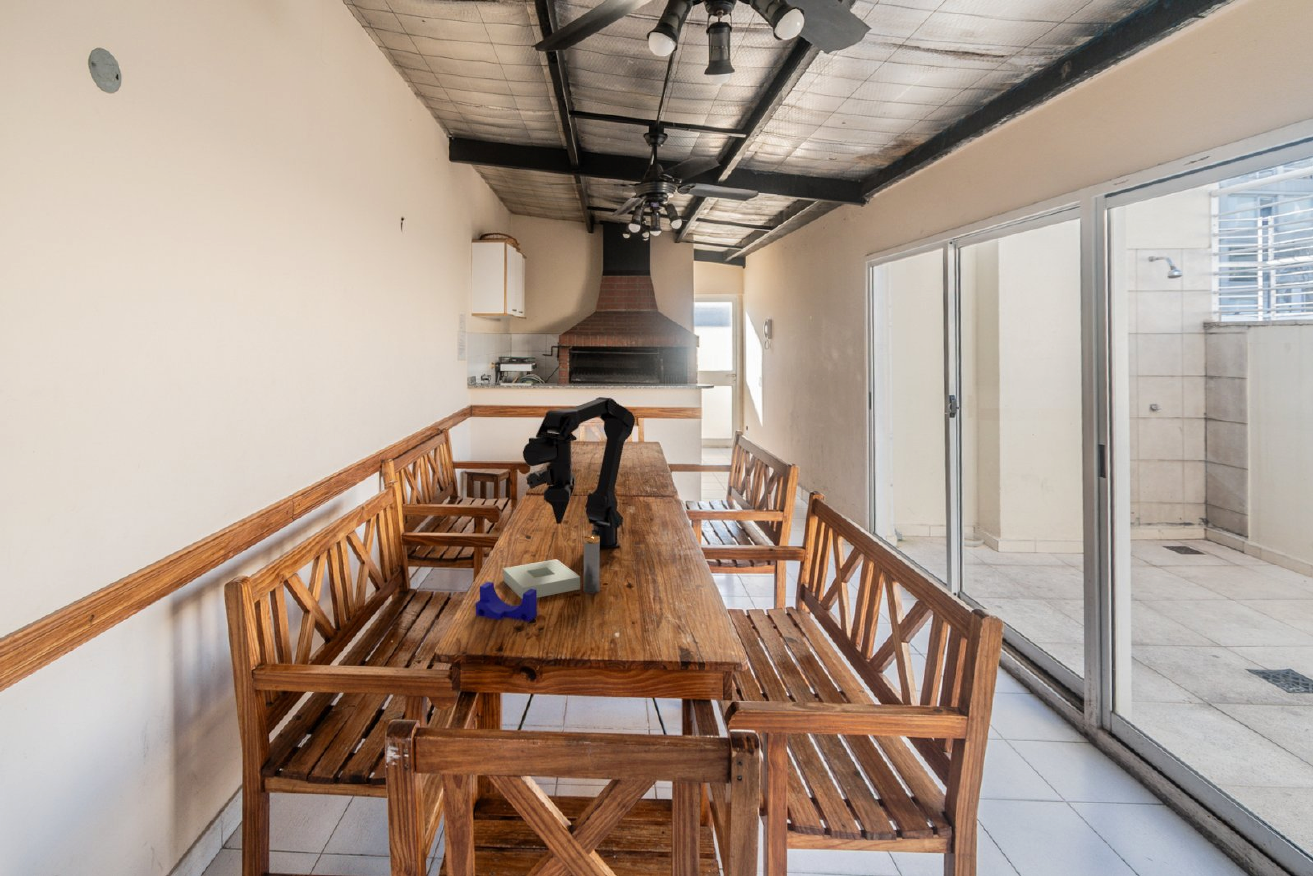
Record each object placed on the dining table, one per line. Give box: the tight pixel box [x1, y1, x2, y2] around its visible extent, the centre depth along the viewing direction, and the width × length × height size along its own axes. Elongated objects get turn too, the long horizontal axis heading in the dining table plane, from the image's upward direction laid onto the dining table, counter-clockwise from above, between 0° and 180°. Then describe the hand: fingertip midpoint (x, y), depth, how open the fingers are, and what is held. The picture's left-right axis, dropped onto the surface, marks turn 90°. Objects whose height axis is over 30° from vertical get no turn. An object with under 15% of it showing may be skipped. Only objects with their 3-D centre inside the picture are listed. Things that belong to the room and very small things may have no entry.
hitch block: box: [502, 558, 581, 600], centre depth 152 cm, size 14×14×3 cm
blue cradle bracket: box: [475, 581, 538, 622], centre depth 134 cm, size 12×4×6 cm, turn 71°
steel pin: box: [583, 534, 600, 594], centre depth 148 cm, size 4×4×13 cm
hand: (560, 518), depth 165 cm, fingers open, 9 cm apart
